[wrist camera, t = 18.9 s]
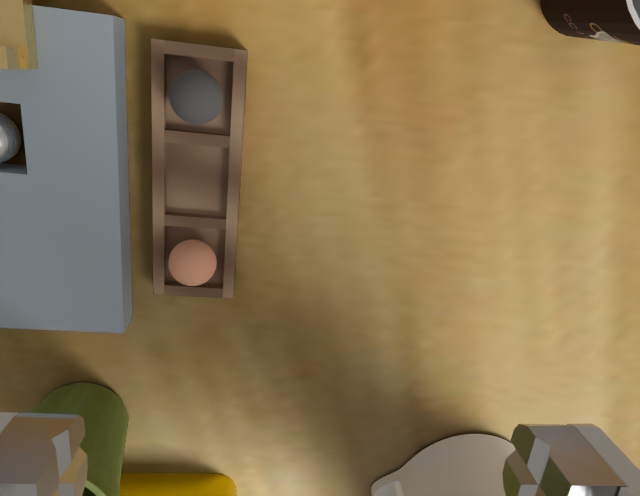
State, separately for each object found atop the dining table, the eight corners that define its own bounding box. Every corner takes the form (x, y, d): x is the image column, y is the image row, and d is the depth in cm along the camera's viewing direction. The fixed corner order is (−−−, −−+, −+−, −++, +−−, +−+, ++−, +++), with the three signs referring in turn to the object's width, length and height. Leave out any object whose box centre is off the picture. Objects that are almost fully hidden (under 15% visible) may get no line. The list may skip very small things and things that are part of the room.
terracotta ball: (217, 275, 37) (213, 295, 34) (173, 273, 37) (164, 292, 34) (219, 234, 36) (214, 251, 33) (173, 231, 36) (163, 247, 33)
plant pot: (18, 464, 43) (-63, 594, 32) (10, 351, 39) (-85, 458, 28) (154, 470, 45) (120, 595, 34) (160, 363, 41) (123, 468, 30)
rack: (234, 289, 39) (233, 298, 37) (157, 285, 38) (153, 294, 36) (247, 50, 32) (246, 50, 31) (156, 39, 32) (150, 38, 30)
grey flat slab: (132, 317, 39) (123, 333, 36) (-86, 306, 37) (-109, 322, 34) (124, 18, 31) (112, 15, 29) (-152, -17, 29) (-189, -24, 27)
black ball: (224, 123, 33) (219, 130, 30) (174, 118, 33) (163, 124, 30) (226, 72, 32) (221, 73, 29) (174, 66, 32) (163, 66, 29)
